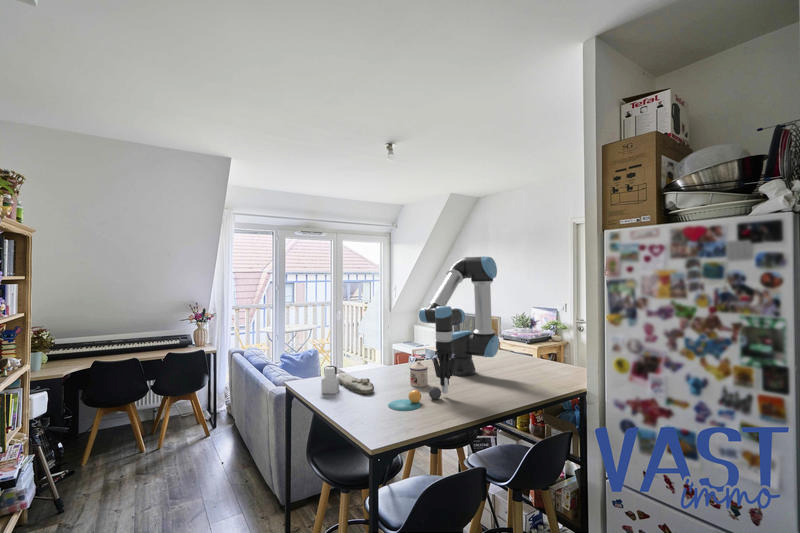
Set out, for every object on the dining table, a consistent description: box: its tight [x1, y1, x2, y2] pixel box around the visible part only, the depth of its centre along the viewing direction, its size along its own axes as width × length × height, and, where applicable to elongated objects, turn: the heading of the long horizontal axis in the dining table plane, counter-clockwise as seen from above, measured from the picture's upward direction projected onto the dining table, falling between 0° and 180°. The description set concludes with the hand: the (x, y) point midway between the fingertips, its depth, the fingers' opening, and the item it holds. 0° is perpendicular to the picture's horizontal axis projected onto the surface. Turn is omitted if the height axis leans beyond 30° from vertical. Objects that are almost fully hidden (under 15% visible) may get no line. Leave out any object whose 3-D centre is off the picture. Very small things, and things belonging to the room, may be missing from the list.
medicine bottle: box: [321, 365, 340, 395], centre depth 186 cm, size 7×7×12 cm
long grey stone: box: [338, 373, 375, 395], centre depth 194 cm, size 35×5×10 cm
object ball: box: [408, 389, 422, 403], centre depth 168 cm, size 6×6×6 cm
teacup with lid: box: [409, 360, 429, 388], centre depth 194 cm, size 12×9×12 cm
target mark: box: [387, 398, 422, 412], centre depth 165 cm, size 14×14×1 cm
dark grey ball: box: [428, 386, 442, 401], centre depth 172 cm, size 6×6×6 cm
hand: (444, 392), depth 175 cm, fingers closed
